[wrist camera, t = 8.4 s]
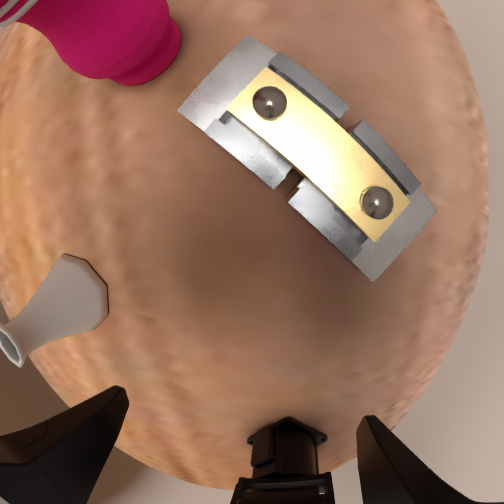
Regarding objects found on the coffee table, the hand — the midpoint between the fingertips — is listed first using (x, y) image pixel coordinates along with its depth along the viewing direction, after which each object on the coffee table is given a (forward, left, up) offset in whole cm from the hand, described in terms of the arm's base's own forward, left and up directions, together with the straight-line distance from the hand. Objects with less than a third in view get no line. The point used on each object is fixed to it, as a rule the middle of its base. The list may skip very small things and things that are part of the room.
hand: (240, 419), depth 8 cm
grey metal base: (+3, -9, -12) cm, 15 cm away
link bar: (+3, -9, -11) cm, 14 cm away
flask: (+11, +12, -12) cm, 20 cm away
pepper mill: (+18, -8, -12) cm, 23 cm away
